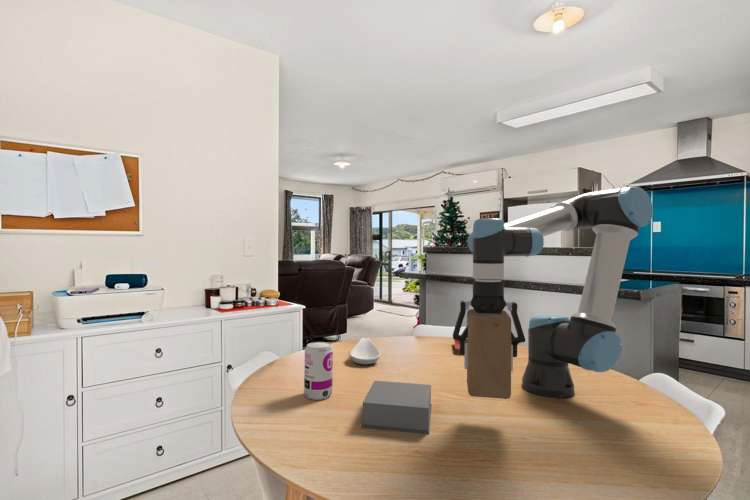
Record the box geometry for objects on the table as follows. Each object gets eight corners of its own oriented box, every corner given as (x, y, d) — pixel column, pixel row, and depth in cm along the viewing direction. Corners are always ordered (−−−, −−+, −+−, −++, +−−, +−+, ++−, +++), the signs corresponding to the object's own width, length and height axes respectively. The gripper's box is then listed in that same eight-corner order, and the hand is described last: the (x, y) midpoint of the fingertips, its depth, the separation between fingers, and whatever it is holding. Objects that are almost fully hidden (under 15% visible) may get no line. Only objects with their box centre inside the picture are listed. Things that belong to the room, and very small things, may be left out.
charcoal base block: (431, 406, 108) (431, 384, 108) (429, 433, 91) (429, 408, 91) (373, 401, 110) (373, 380, 110) (361, 427, 94) (361, 402, 94)
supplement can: (337, 393, 116) (337, 343, 116) (322, 402, 109) (323, 349, 109) (314, 388, 120) (315, 340, 120) (298, 397, 112) (299, 346, 112)
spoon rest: (381, 368, 142) (381, 348, 142) (349, 368, 142) (349, 348, 142) (377, 350, 166) (378, 334, 166) (350, 350, 165) (350, 334, 165)
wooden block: (511, 400, 91) (511, 316, 91) (468, 397, 93) (468, 315, 93) (506, 385, 101) (506, 309, 101) (466, 383, 103) (466, 308, 103)
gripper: (532, 279, 99) (532, 366, 99) (442, 278, 103) (442, 361, 103) (539, 282, 91) (539, 376, 91) (442, 280, 95) (442, 370, 95)
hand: (487, 368), depth 97 cm, fingers closed on wooden block, 10 cm apart
